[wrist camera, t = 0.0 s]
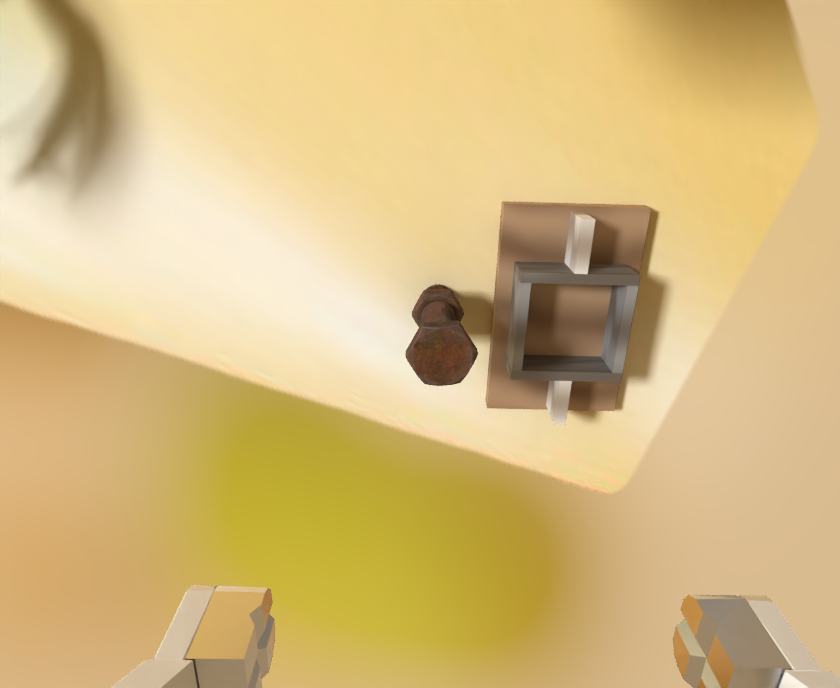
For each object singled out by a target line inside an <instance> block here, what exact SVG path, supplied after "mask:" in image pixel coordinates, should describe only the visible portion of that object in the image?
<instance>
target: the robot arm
mask: <svg viewBox="0 0 840 688" xmlns="http://www.w3.org/2000/svg"><path fill="white" fill-rule="evenodd" d="M271 606H272V594H271V589H269V588H260V587H238V586H205V585H192V586H191V587H190V588H189V589H188V590H187V591H186V593H185V595H184V597H183V599H182V602H181V603H180V605H179V608H178V610H177V612H176V614H175V616H174V618H173V620H172V622H171V624H170V626H169V629H168V631H167V633H166V635H165V637H164V639H163V641H162V643H161V645H160V647H159V649H158V651H157V653H156V656H155V658H154V659H146V660H144V661H143V662H142V663H141V664H139V665H138V666H137V667H135V668H134V669H133V670H132V671H131V672H129V673H128V674H127V675H126V676H124V677H123V678H122V679H120V680H119V681H118V682H117V683H115V684H114V685H113V686H112V687H111V688H262V683H261V679H262V678H263V677H264V676H265V675H266V674H267V673H268V672H269V669H270V665H271V661H272V657H273V649H274V642H275V622H274V618H273V617H272V616H271V615H270V614H269V613H270V609H271ZM681 611H682V613H683V615H684V617H685V619H684V620H683V621H682V622H680V623H679V624H678V625H677V626H676V628H675V633H674V637H673V645H674V655H675V658H676V662H677V666H678V668H679V671H680V673H681V675H682V677H683V679H684V680H685V681H686V682H687V683H689V684H690V685H691V686H692V687H693V688H840V677H839V676H837V675H836V674H834V673H833V672H831V671H823V670H822V669H821V668H820V667H819V665H818V664H817V662H816V661H815V659H814V658H813V657H812V655H811V654H810V653H809V651H808V650H807V648H806V647H805V646H804V644H803V643H802V641H801V640H800V639H799V637H798V636H797V634H796V633H795V632H794V631H793V629H792V628H791V626H790V625H789V623H788V622H787V621H786V619H785V618H784V616H783V615H782V614H781V612H780V611H779V609H778V608H777V607H776V605H775V604H774V603H773V601H772V600H771V599H769V598H768V597H766V596H736V595H688V596H687V597H686V598H685V599H684V600H683V603H682V607H681Z"/></svg>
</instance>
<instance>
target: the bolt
mask: <svg viewBox="0 0 840 688" xmlns="http://www.w3.org/2000/svg"><path fill="white" fill-rule="evenodd" d="M463 315H464V312H463V309H462V307H461V305H460V304H459V302H458V300H457V299H456V297H455V296H454V294H453V293H452V291H451V290H450V289H447V288H446V287H445V286H443V285H433V286H430V287H428V288H427V289H426V290H424V291H423V293H422V294H421V296H420V298H419V299H418V301H417V303H416V305H415V307H414V309H413V311H412V317H413V318H414V320H415V322H416V324H417V325H418V327H419V329H418V331H417V332H416V334H415V336H414V338H413V340H412V341H411V343H410V345H409V347H408V348H407V350H406V358H407V360H408V362H409V364H410V365H411V367H412V368H413V370H414V371H415V373H416V374H417V376H418V377H419V378H420V379H421V381H422V382H423V383H424V384H428V385H436V386H443V385H453V384H457V383H460V382H461V381H462V380H463V379H464V378H465V377H466V375H467V374H468V372H469V370H470V369H471V367H472V365H473V363H474V362H475V359H476V357H477V355H478V352H477V348H476V347H475V345H474V344H473V342H472V340H471V339H470V337H469V336H468V334H467V333H466V331H465V330H464V328H463V327H462V325H461V324H460V321H461V319H462V317H463Z"/></svg>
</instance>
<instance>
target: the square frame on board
mask: <svg viewBox="0 0 840 688" xmlns="http://www.w3.org/2000/svg"><path fill="white" fill-rule="evenodd" d="M650 212H651V208H650V207H648V206H643V205H606V204H570V203H533V202H502V209H501V221H500V234H499V246H498V258H497V270H496V282H495V295H494V307H493V319H492V331H491V344H490V356H489V368H488V380H487V393H486V405H487V408H507V409H548V411H549V414H550V416H551V418H552V421H553V423H554V424H563V425H566V418H567V412H568V410H597V411H614V410H615V404H616V399H617V393H618V388H619V382H621V379H622V373H623V368H624V362H625V357H626V352H627V346H628V341H629V335H630V330H631V324H632V319H633V313H634V308H635V303H636V297H637V292H638V286H639V281H640V275H639V273H640V267H641V262H642V256H643V251H644V245H645V240H646V234H647V229H648V223H649V218H650Z"/></svg>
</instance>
